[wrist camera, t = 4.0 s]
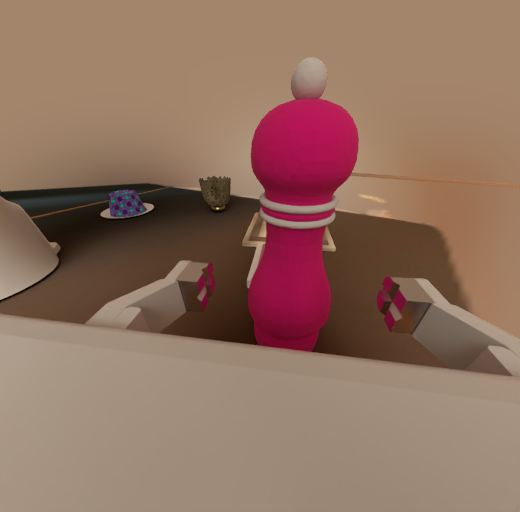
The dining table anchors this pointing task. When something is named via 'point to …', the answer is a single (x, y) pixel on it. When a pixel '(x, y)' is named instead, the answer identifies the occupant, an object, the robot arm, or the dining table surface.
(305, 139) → the pepper mill
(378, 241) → the dining table surface
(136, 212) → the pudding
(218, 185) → the cup
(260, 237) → the board
